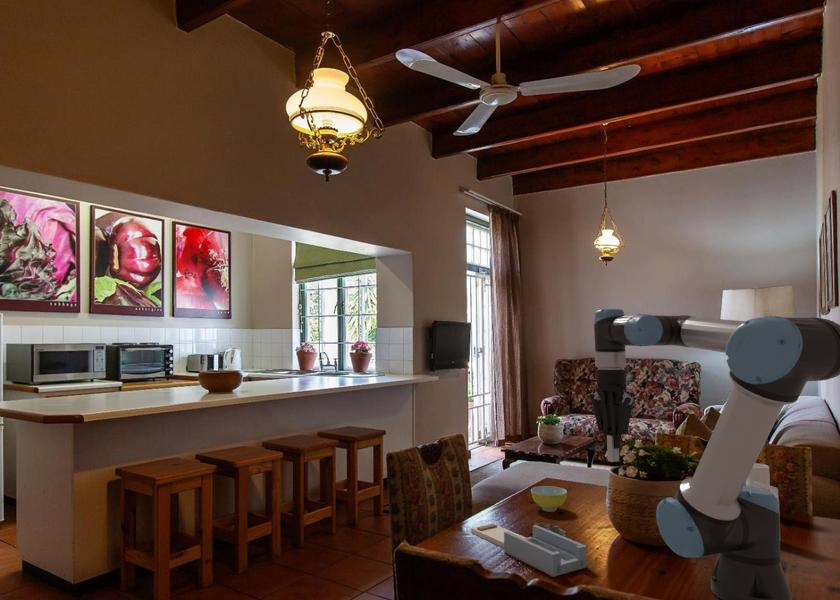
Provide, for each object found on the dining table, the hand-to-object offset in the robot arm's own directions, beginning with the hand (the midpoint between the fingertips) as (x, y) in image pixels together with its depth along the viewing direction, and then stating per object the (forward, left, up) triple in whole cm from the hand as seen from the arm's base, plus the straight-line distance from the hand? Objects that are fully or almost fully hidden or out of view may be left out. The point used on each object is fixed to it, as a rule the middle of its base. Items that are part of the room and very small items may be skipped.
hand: (613, 460), depth 147 cm
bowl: (+38, -13, -24) cm, 46 cm away
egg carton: (+17, +6, -24) cm, 30 cm away
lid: (+25, +17, -25) cm, 39 cm away
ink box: (-12, -44, -24) cm, 52 cm away
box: (+8, +17, -24) cm, 30 cm away
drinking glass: (+1, -67, -24) cm, 71 cm away
